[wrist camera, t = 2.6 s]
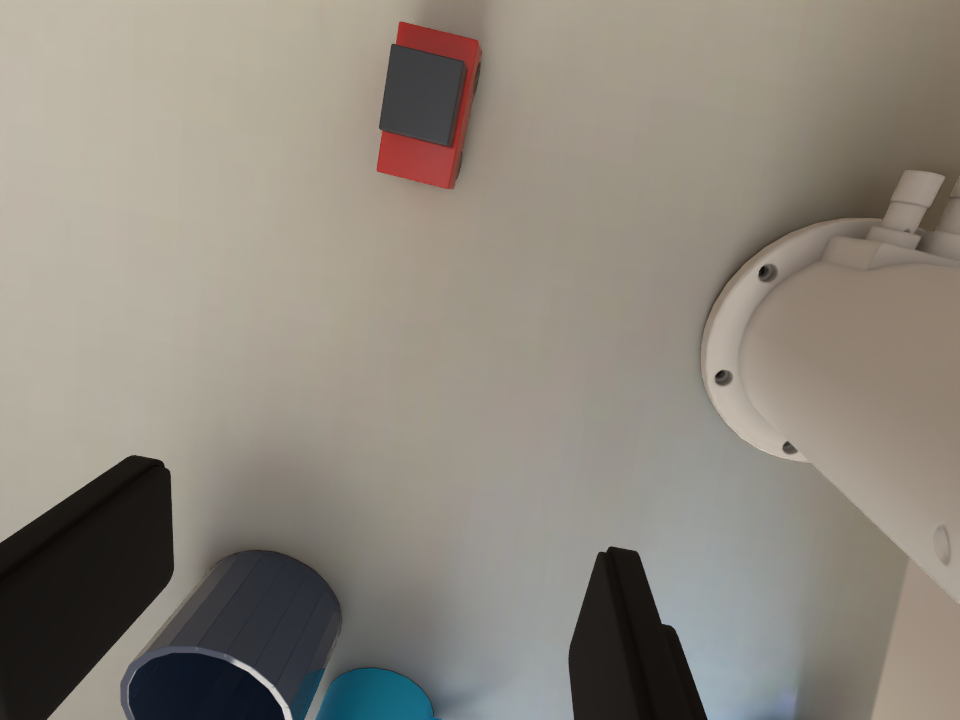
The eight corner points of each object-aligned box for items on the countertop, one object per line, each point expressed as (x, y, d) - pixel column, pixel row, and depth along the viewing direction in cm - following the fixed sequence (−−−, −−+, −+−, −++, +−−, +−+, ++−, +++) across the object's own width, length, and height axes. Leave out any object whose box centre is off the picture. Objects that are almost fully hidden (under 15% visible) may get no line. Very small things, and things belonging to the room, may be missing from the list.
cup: (205, 534, 33) (119, 626, 26) (351, 571, 33) (303, 673, 26) (198, 644, 37) (120, 753, 30) (331, 678, 37) (284, 795, 30)
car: (412, 38, 23) (390, 9, 20) (483, 55, 23) (475, 30, 20) (390, 173, 25) (367, 170, 22) (456, 189, 25) (444, 189, 22)
